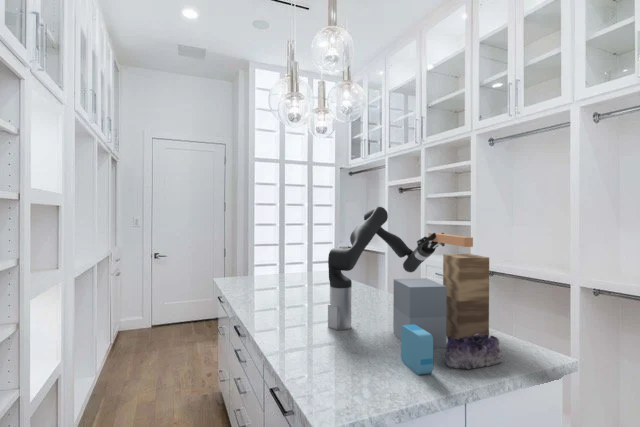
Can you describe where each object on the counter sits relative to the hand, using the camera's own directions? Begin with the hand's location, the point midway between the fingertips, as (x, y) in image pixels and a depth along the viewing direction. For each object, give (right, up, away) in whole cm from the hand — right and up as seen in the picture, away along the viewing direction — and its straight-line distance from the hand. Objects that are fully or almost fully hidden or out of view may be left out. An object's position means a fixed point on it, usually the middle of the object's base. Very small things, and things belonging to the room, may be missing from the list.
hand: (439, 234), depth 157 cm
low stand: (-16, -39, -23) cm, 48 cm away
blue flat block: (-23, -39, -47) cm, 65 cm away
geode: (-4, -39, -43) cm, 59 cm away
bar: (+1, -3, -8) cm, 9 cm away
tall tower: (+3, -39, -21) cm, 44 cm away
